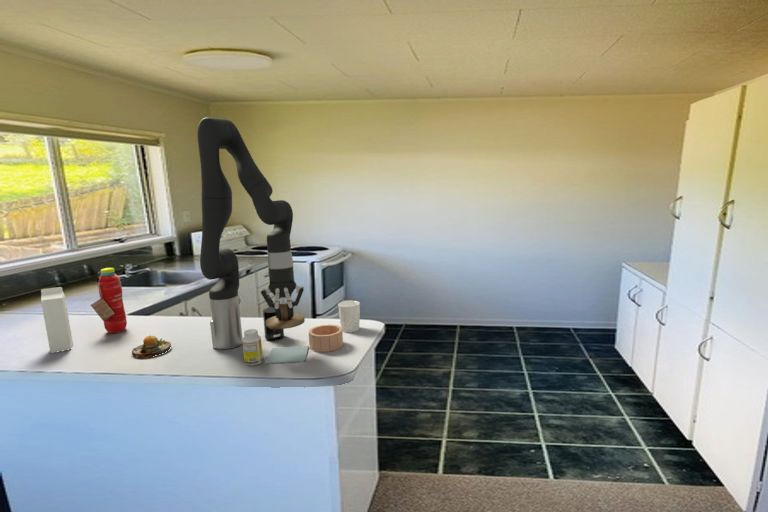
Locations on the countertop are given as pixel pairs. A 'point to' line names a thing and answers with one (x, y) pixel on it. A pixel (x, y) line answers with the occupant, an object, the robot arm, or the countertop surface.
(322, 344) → the bowl
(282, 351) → the mat
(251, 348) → the supplement bottle
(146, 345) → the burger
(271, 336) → the supplement container
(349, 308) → the white cup
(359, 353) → the countertop surface
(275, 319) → the lid
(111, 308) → the water bottle
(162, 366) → the countertop surface
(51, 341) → the milk
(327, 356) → the countertop surface
